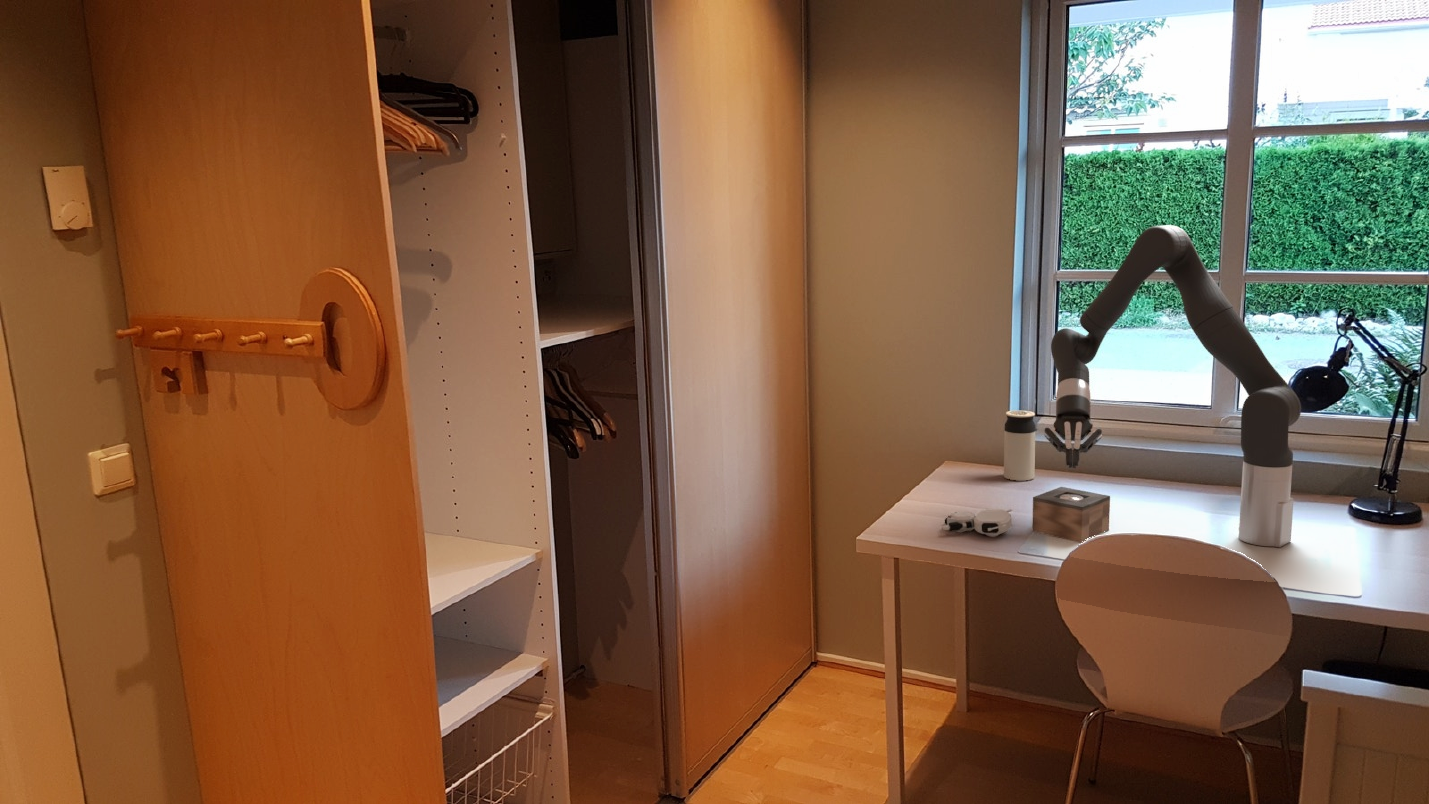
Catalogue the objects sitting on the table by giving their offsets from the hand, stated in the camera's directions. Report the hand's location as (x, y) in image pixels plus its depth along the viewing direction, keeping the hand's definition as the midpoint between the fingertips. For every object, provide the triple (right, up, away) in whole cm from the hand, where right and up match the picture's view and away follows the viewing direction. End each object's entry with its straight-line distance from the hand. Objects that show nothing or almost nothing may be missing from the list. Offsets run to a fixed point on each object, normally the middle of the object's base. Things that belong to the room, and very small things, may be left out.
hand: (1072, 466), depth 227 cm
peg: (0, -15, +3) cm, 15 cm away
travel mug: (+3, -7, +49) cm, 50 cm away
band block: (0, -15, +3) cm, 15 cm away
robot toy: (-20, -16, +5) cm, 26 cm away
